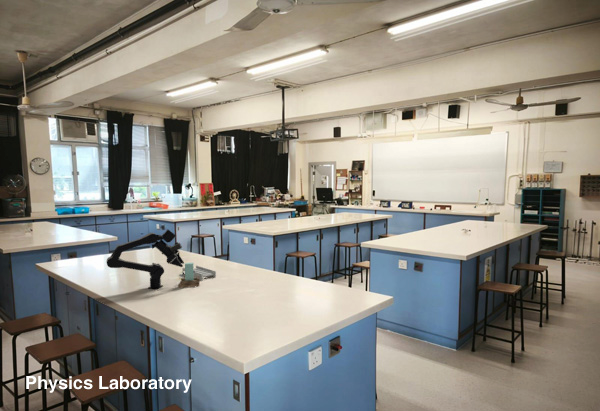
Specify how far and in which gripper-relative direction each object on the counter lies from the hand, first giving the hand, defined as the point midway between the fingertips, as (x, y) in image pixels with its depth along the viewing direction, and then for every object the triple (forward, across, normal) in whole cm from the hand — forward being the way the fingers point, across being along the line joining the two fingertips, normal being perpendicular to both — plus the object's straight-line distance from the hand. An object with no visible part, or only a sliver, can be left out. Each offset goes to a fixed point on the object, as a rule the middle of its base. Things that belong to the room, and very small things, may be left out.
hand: (183, 264), depth 218 cm
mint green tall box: (+11, 0, +6) cm, 12 cm away
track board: (+12, 0, +7) cm, 14 cm away
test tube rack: (+10, +18, +5) cm, 22 cm away
